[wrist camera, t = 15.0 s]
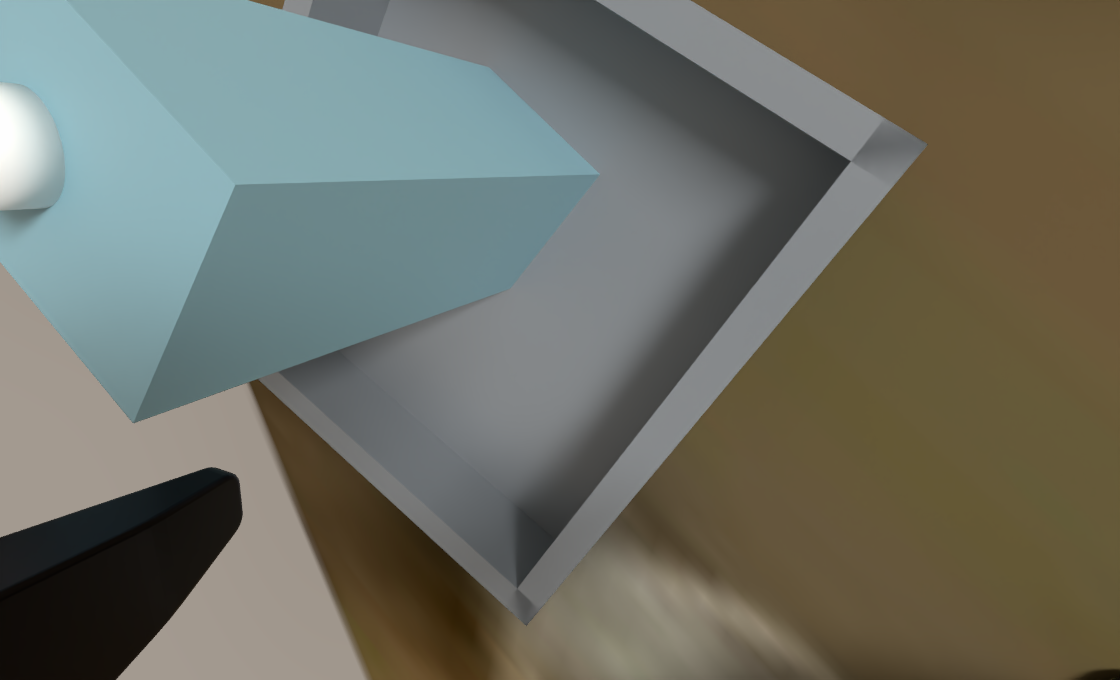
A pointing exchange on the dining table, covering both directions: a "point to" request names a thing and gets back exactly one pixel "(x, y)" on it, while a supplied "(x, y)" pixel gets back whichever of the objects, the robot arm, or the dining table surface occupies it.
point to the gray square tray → (599, 274)
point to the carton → (254, 187)
